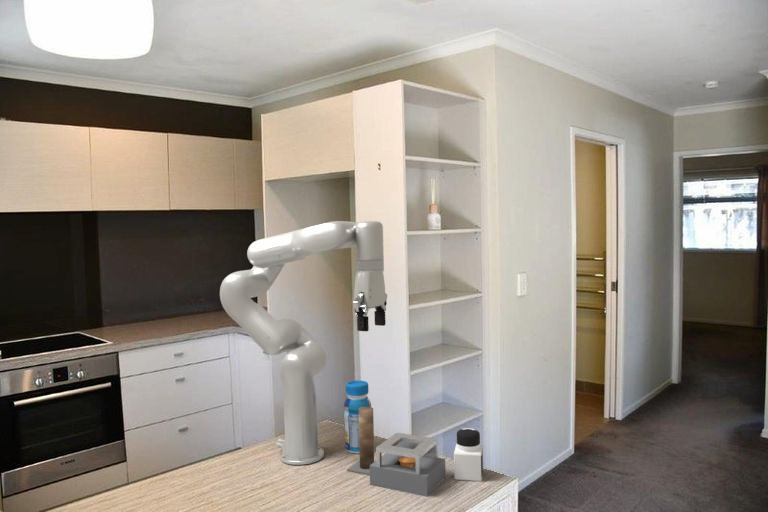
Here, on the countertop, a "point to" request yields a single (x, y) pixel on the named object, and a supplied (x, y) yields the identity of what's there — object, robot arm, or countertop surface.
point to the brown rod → (366, 437)
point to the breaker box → (408, 475)
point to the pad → (358, 469)
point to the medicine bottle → (468, 456)
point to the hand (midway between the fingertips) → (371, 328)
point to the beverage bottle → (354, 413)
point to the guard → (408, 448)
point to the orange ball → (407, 461)
